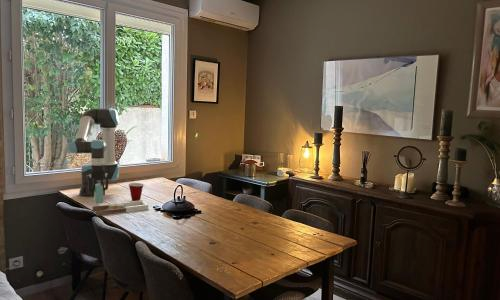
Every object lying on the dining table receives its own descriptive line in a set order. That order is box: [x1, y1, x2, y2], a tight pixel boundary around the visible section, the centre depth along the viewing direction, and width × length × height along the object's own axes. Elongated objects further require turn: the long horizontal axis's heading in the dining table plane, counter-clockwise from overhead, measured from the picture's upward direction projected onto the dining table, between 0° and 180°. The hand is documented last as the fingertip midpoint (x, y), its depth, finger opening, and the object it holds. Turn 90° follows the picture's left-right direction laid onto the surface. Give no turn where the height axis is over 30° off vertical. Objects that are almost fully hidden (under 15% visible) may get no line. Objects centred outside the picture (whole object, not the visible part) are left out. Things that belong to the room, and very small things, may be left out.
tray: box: [121, 199, 149, 213], centre depth 255 cm, size 13×14×3 cm
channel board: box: [92, 202, 127, 217], centre depth 247 cm, size 13×18×2 cm
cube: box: [115, 203, 125, 209], centre depth 249 cm, size 4×4×4 cm
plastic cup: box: [128, 182, 145, 202], centre depth 275 cm, size 11×11×12 cm
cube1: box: [107, 203, 117, 210], centre depth 248 cm, size 4×4×4 cm
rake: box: [94, 183, 104, 205], centre depth 241 cm, size 8×4×11 cm, turn 32°
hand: (98, 200), depth 242 cm, fingers closed on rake, 4 cm apart
